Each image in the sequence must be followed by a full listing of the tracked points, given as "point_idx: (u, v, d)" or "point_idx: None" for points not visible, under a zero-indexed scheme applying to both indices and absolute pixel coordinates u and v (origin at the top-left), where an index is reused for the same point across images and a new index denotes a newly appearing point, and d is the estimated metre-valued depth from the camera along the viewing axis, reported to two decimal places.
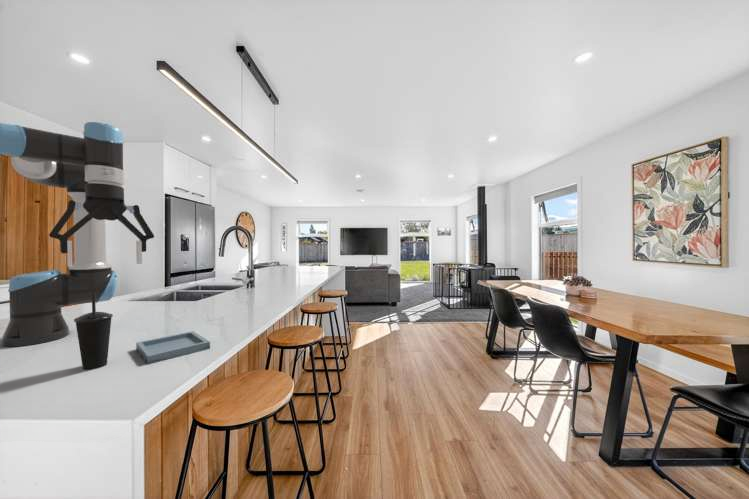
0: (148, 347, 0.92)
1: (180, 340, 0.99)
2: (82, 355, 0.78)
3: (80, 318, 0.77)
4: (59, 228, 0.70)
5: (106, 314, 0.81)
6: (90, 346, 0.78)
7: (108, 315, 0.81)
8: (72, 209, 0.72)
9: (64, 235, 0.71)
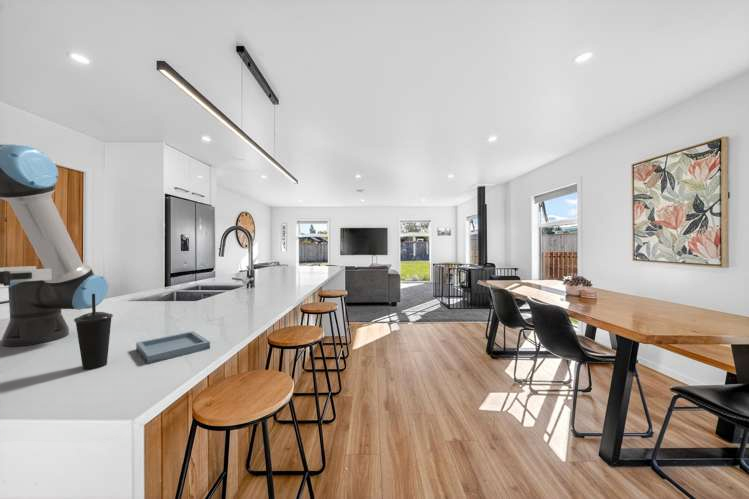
0: (148, 347, 0.92)
1: (180, 340, 0.99)
2: (82, 355, 0.78)
3: (80, 318, 0.77)
4: None
5: (106, 314, 0.81)
6: (90, 346, 0.78)
7: (108, 315, 0.81)
8: None
9: None
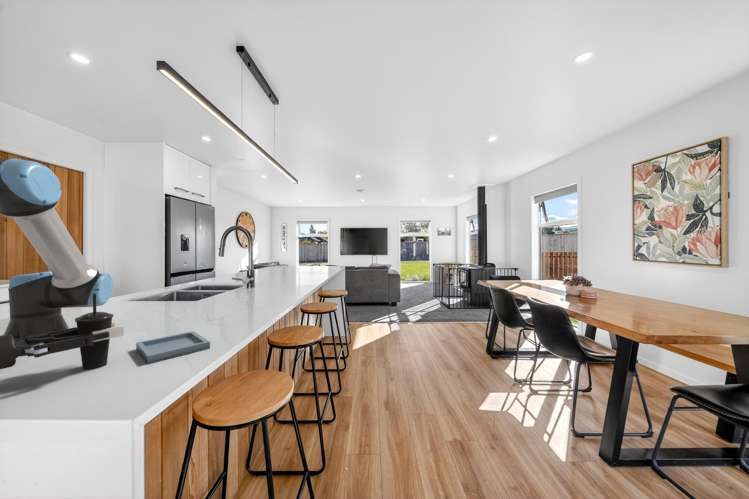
0: (148, 347, 0.92)
1: (180, 340, 0.99)
2: (82, 355, 0.77)
3: (81, 318, 0.77)
4: None
5: (107, 314, 0.81)
6: (91, 346, 0.78)
7: (109, 315, 0.81)
8: None
9: None
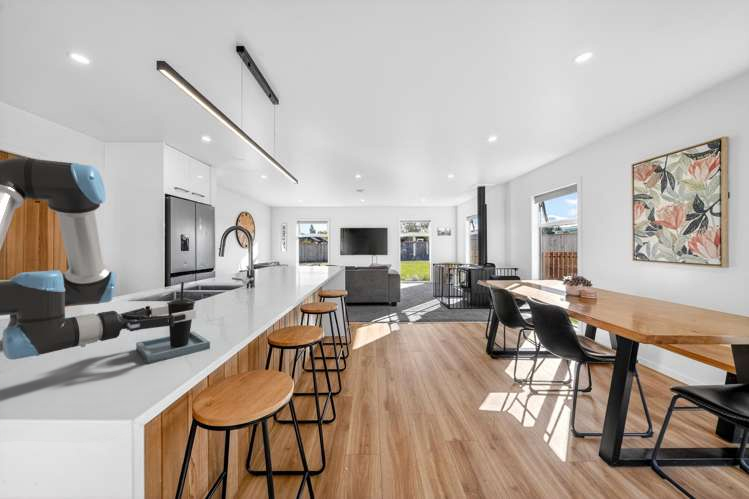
0: (148, 347, 0.92)
1: None
2: (172, 334, 0.92)
3: (173, 302, 0.92)
4: None
5: (191, 300, 0.96)
6: (180, 326, 0.92)
7: (193, 301, 0.96)
8: None
9: None
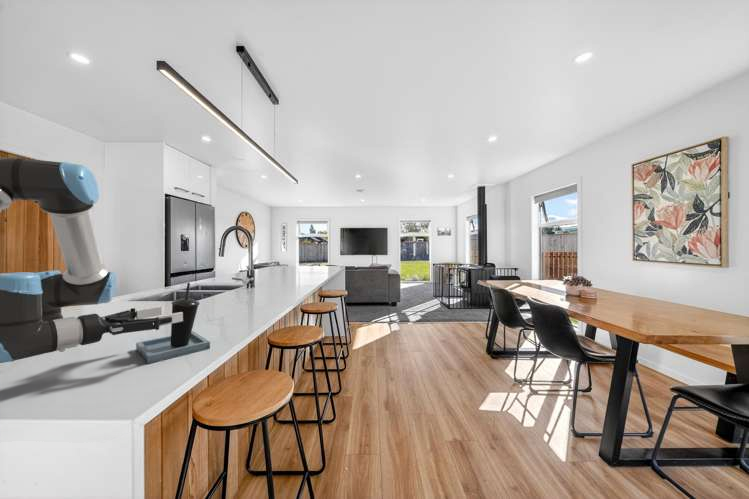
0: (148, 347, 0.92)
1: None
2: (173, 334, 0.91)
3: (177, 302, 0.91)
4: None
5: (195, 301, 0.95)
6: (182, 327, 0.92)
7: (197, 302, 0.95)
8: None
9: (130, 319, 0.89)
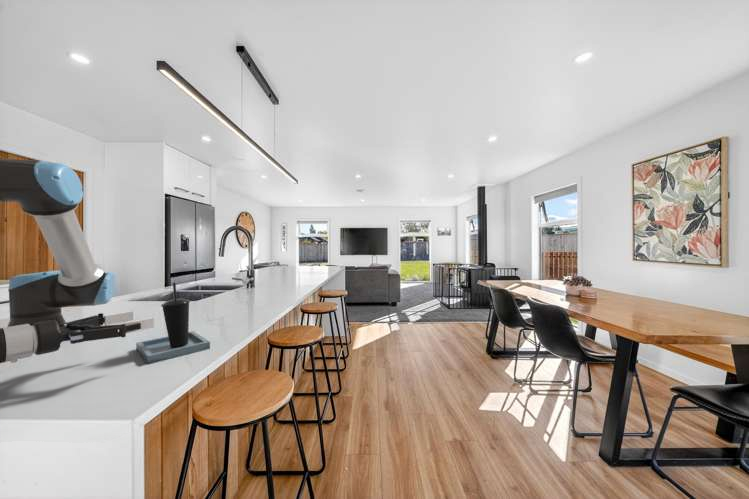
0: (148, 347, 0.92)
1: None
2: (170, 335, 0.91)
3: (167, 303, 0.91)
4: None
5: (185, 299, 0.95)
6: (177, 326, 0.92)
7: (187, 300, 0.95)
8: None
9: None
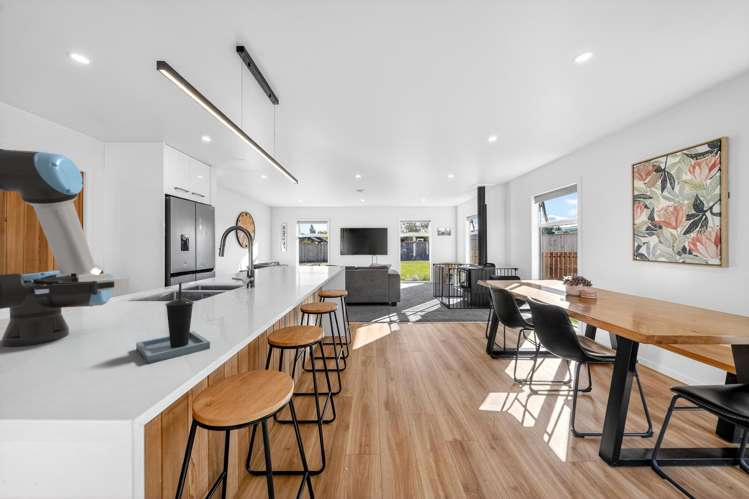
0: (148, 347, 0.92)
1: None
2: (171, 334, 0.91)
3: (171, 303, 0.91)
4: None
5: (189, 300, 0.95)
6: (179, 327, 0.92)
7: (191, 301, 0.95)
8: None
9: None
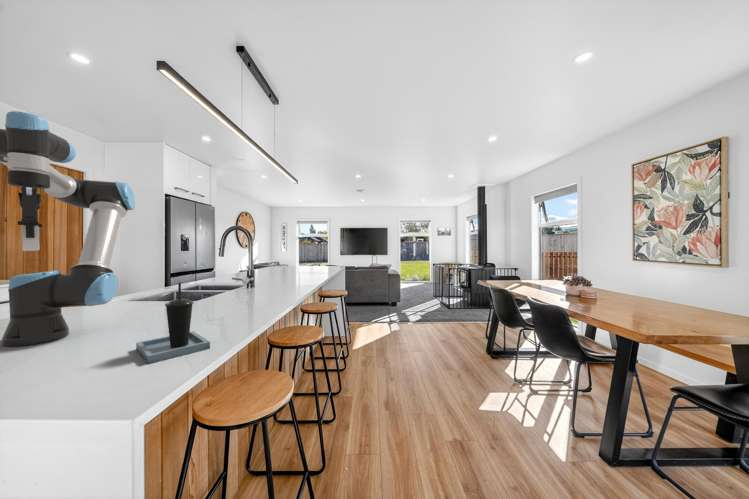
0: (148, 347, 0.92)
1: None
2: (171, 335, 0.91)
3: (171, 303, 0.91)
4: None
5: (189, 300, 0.95)
6: (178, 327, 0.92)
7: (191, 301, 0.95)
8: None
9: None
